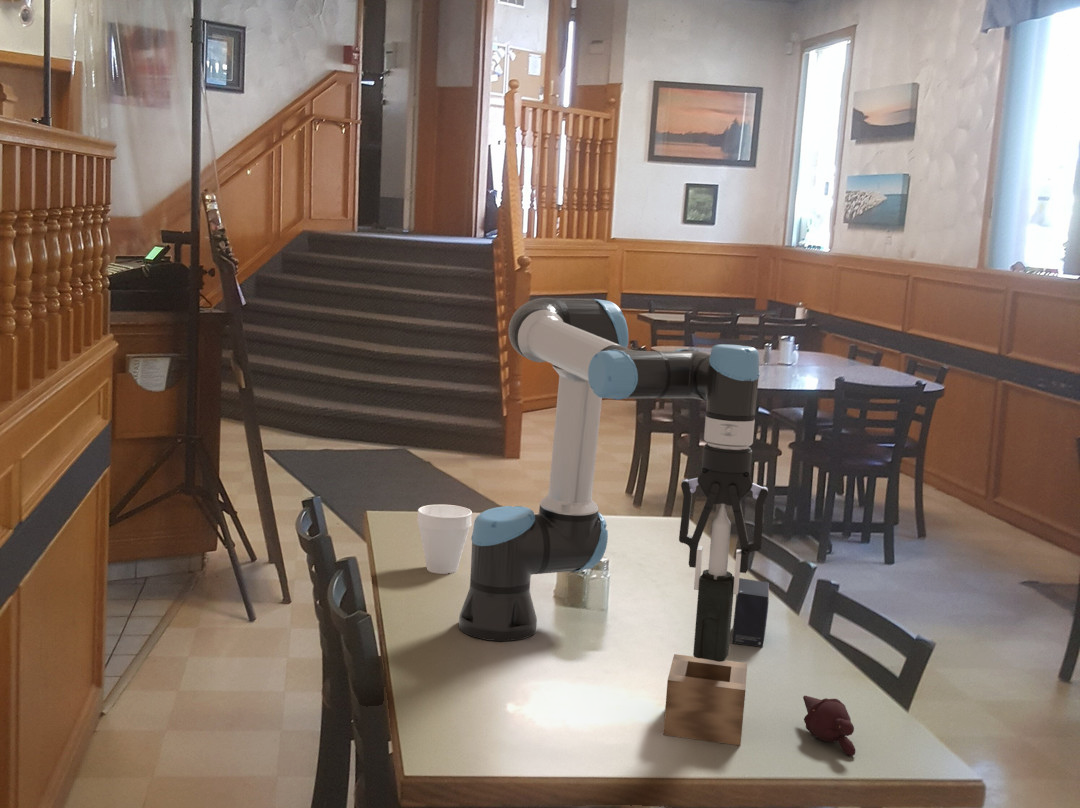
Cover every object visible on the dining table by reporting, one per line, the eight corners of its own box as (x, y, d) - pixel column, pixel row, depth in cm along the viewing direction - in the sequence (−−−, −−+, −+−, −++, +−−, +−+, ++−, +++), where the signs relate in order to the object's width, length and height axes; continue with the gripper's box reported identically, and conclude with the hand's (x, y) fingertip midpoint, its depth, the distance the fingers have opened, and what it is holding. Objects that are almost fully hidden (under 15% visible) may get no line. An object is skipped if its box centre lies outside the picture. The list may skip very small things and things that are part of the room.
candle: (729, 652, 189) (742, 500, 185) (723, 662, 184) (736, 506, 180) (698, 647, 190) (710, 496, 187) (691, 657, 185) (704, 502, 182)
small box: (764, 648, 227) (769, 596, 225) (730, 644, 228) (735, 592, 227) (765, 631, 237) (770, 580, 236) (732, 627, 238) (737, 577, 237)
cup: (479, 569, 268) (483, 510, 266) (447, 581, 257) (450, 520, 255) (437, 558, 274) (439, 501, 272) (403, 569, 264) (406, 510, 262)
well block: (663, 734, 184) (667, 680, 183) (669, 705, 196) (674, 654, 195) (740, 745, 182) (745, 690, 181) (742, 715, 194) (747, 663, 192)
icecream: (781, 684, 191) (828, 730, 177) (822, 671, 193) (871, 716, 179) (786, 721, 193) (832, 769, 179) (826, 708, 195) (875, 755, 181)
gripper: (666, 443, 180) (655, 589, 184) (788, 454, 177) (775, 603, 180) (670, 436, 188) (660, 576, 191) (788, 446, 184) (775, 589, 187)
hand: (716, 589), depth 186 cm, fingers closed on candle, 5 cm apart
